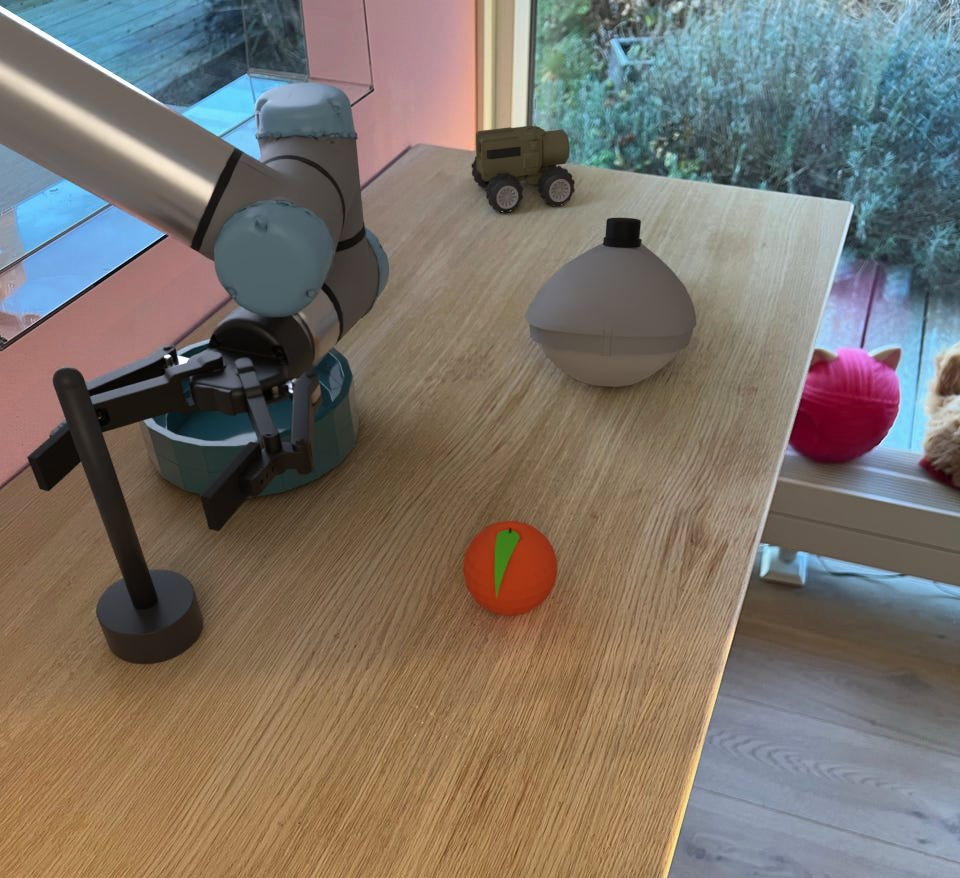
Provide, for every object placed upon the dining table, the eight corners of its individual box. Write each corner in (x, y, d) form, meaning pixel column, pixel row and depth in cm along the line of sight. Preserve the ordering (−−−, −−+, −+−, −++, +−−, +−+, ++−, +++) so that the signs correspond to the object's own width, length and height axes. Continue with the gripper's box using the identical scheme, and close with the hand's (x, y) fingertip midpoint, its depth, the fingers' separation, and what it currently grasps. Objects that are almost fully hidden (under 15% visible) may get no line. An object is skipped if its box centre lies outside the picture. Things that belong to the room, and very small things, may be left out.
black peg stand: (88, 651, 76) (-23, 388, 60) (142, 589, 80) (52, 331, 65) (169, 674, 74) (77, 409, 58) (220, 610, 78) (147, 349, 63)
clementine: (545, 651, 74) (546, 577, 69) (451, 638, 76) (446, 564, 71) (563, 578, 80) (566, 505, 75) (475, 567, 81) (473, 494, 76)
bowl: (110, 480, 91) (90, 422, 86) (221, 374, 103) (208, 318, 98) (299, 524, 86) (288, 464, 81) (392, 406, 98) (386, 349, 93)
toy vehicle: (470, 185, 134) (466, 84, 125) (552, 174, 136) (554, 75, 127) (490, 218, 127) (488, 113, 118) (577, 206, 128) (581, 103, 120)
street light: (689, 415, 90) (709, 244, 83) (511, 403, 92) (517, 236, 85) (686, 342, 116) (701, 208, 109) (547, 334, 118) (554, 202, 111)
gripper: (419, 408, 83) (295, 575, 69) (153, 358, 89) (-10, 501, 75) (413, 321, 77) (276, 484, 63) (130, 275, 84) (-50, 413, 70)
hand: (121, 494), depth 69 cm, fingers open, 13 cm apart
